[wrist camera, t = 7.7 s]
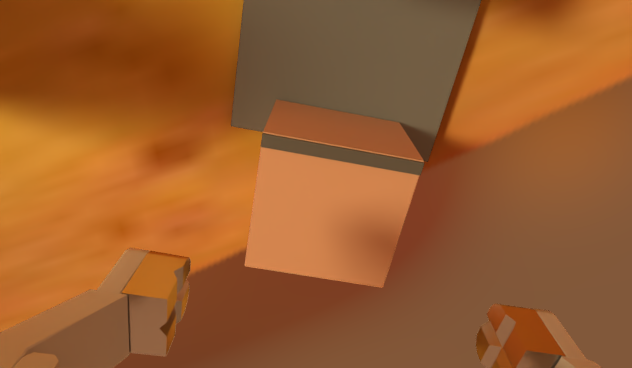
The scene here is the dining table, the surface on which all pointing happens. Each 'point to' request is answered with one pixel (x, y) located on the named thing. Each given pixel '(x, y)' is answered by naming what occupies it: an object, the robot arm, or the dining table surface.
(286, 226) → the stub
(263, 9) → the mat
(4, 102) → the dining table surface
